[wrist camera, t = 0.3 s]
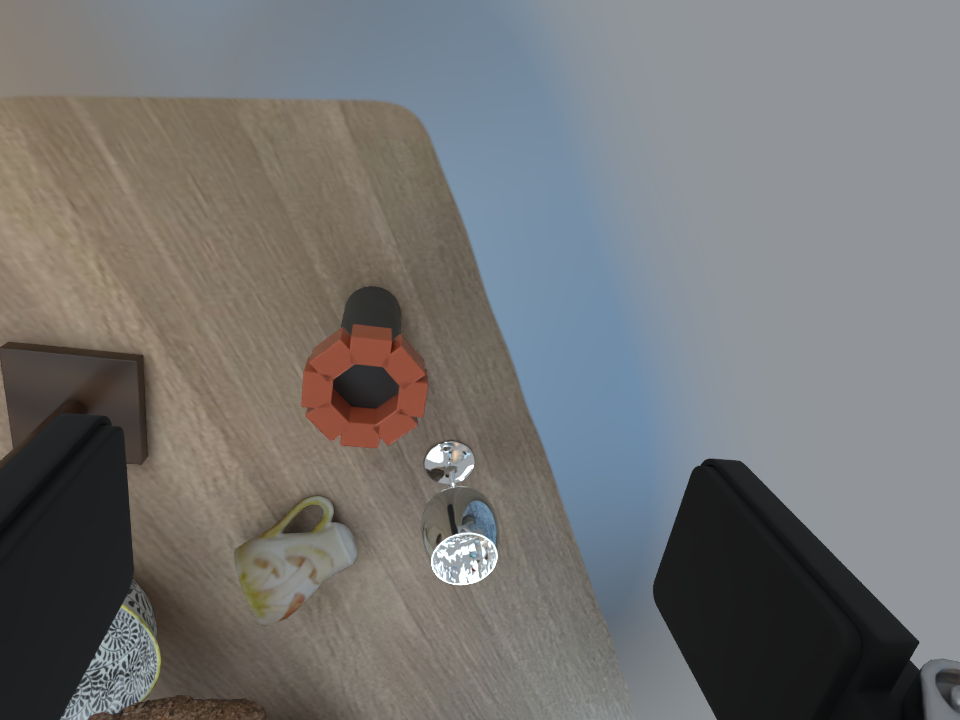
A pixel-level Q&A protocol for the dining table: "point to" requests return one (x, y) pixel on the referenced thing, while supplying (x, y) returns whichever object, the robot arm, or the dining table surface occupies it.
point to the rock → (187, 710)
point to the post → (73, 391)
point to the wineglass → (458, 519)
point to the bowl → (121, 662)
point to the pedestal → (362, 380)
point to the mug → (292, 563)
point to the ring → (357, 421)
